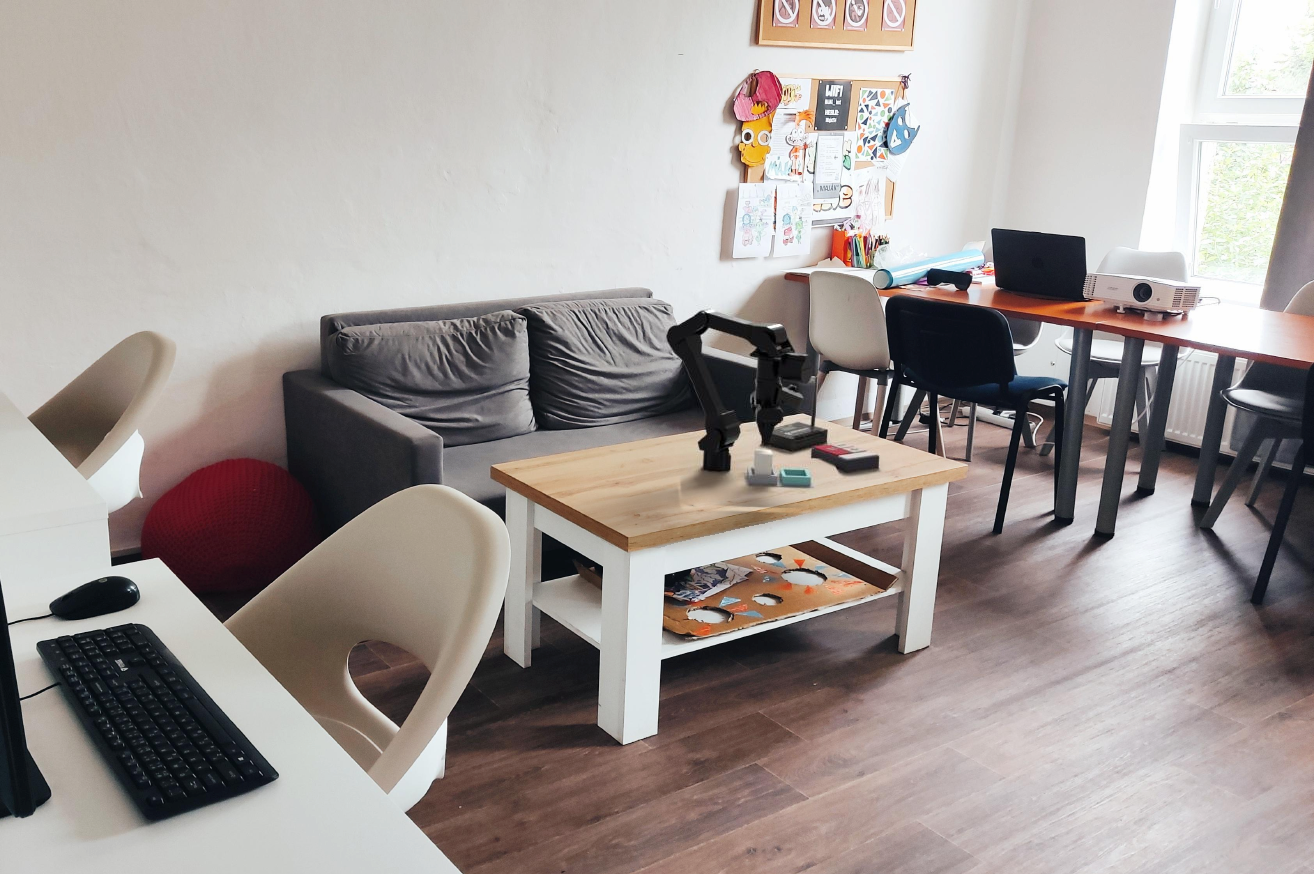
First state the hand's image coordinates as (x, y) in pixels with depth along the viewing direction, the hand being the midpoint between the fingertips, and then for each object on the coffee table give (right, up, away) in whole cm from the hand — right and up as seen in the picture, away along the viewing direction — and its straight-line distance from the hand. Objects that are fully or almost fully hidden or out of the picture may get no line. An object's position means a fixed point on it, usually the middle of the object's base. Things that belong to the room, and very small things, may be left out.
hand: (764, 440), depth 263 cm
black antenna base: (+14, -1, +41) cm, 43 cm away
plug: (0, -10, +3) cm, 10 cm away
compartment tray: (+4, -11, +3) cm, 12 cm away
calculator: (+23, -7, +23) cm, 33 cm away
